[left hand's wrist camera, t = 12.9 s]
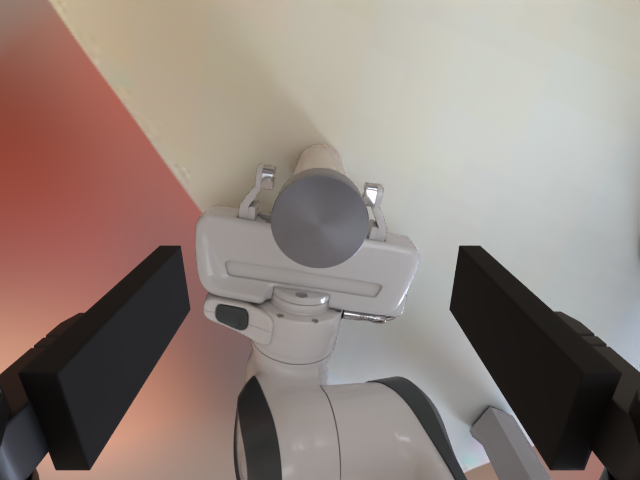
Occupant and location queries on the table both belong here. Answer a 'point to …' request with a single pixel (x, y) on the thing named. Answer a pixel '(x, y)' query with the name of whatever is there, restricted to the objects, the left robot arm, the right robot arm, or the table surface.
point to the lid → (319, 218)
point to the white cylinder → (319, 159)
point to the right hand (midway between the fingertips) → (321, 175)
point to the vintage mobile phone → (507, 447)
